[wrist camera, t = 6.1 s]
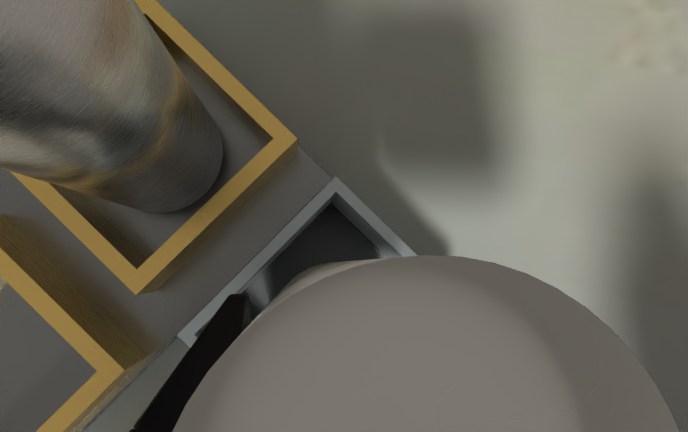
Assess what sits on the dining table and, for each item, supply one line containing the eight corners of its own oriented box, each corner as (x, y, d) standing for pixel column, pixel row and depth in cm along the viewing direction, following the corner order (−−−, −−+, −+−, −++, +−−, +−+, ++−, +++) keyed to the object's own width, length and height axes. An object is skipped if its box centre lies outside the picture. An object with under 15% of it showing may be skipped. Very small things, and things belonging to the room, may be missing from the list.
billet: (336, 418, 16) (455, 1029, 3) (244, 328, 16) (6, 575, 3) (421, 322, 17) (804, 515, 4) (333, 236, 17) (423, 147, 4)
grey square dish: (334, 455, 17) (340, 496, 14) (198, 322, 17) (176, 335, 14) (459, 314, 18) (489, 325, 15) (331, 189, 18) (336, 175, 15)
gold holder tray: (-9, 523, 16) (-81, 583, 13) (-201, 333, 16) (-316, 350, 13) (331, 183, 18) (335, 167, 15) (163, 19, 18) (135, -27, 15)
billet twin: (157, 238, 17) (-362, 162, 4) (68, 151, 17) (-756, -228, 4) (248, 152, 17) (75, -173, 4) (162, 68, 17) (-265, -503, 4)
